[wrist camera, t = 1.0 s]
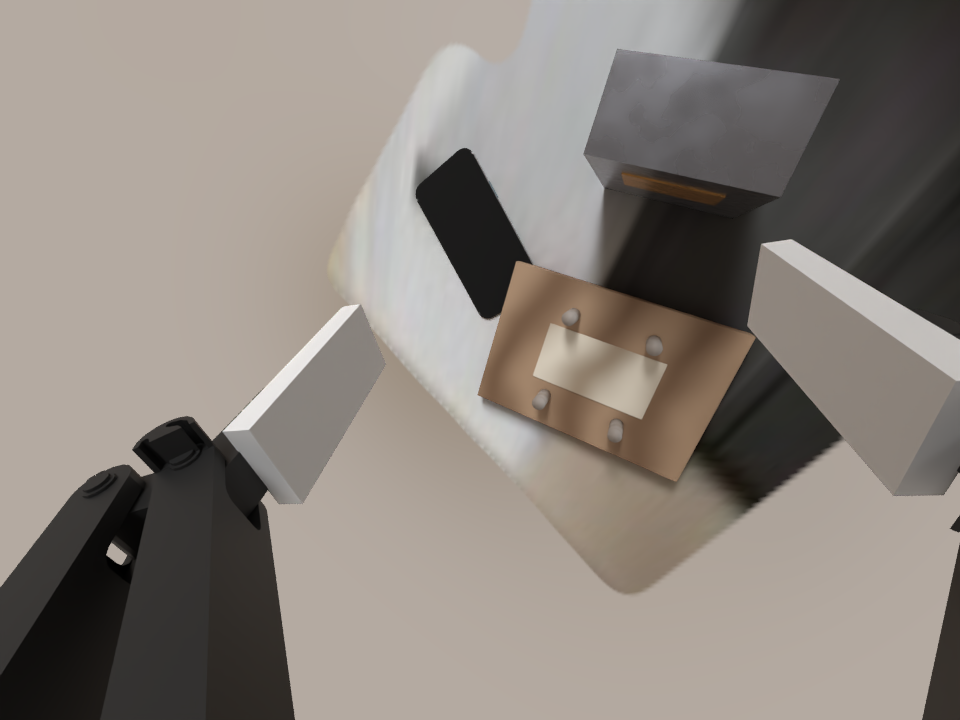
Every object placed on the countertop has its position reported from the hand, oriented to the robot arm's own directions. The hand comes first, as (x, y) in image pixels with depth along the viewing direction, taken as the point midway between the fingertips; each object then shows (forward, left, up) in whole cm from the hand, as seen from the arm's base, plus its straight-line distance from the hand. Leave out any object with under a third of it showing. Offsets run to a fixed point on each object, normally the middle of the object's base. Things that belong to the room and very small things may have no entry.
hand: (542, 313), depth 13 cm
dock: (+5, +6, -23) cm, 25 cm away
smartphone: (+7, -10, -24) cm, 27 cm away
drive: (-9, -4, -23) cm, 25 cm away
